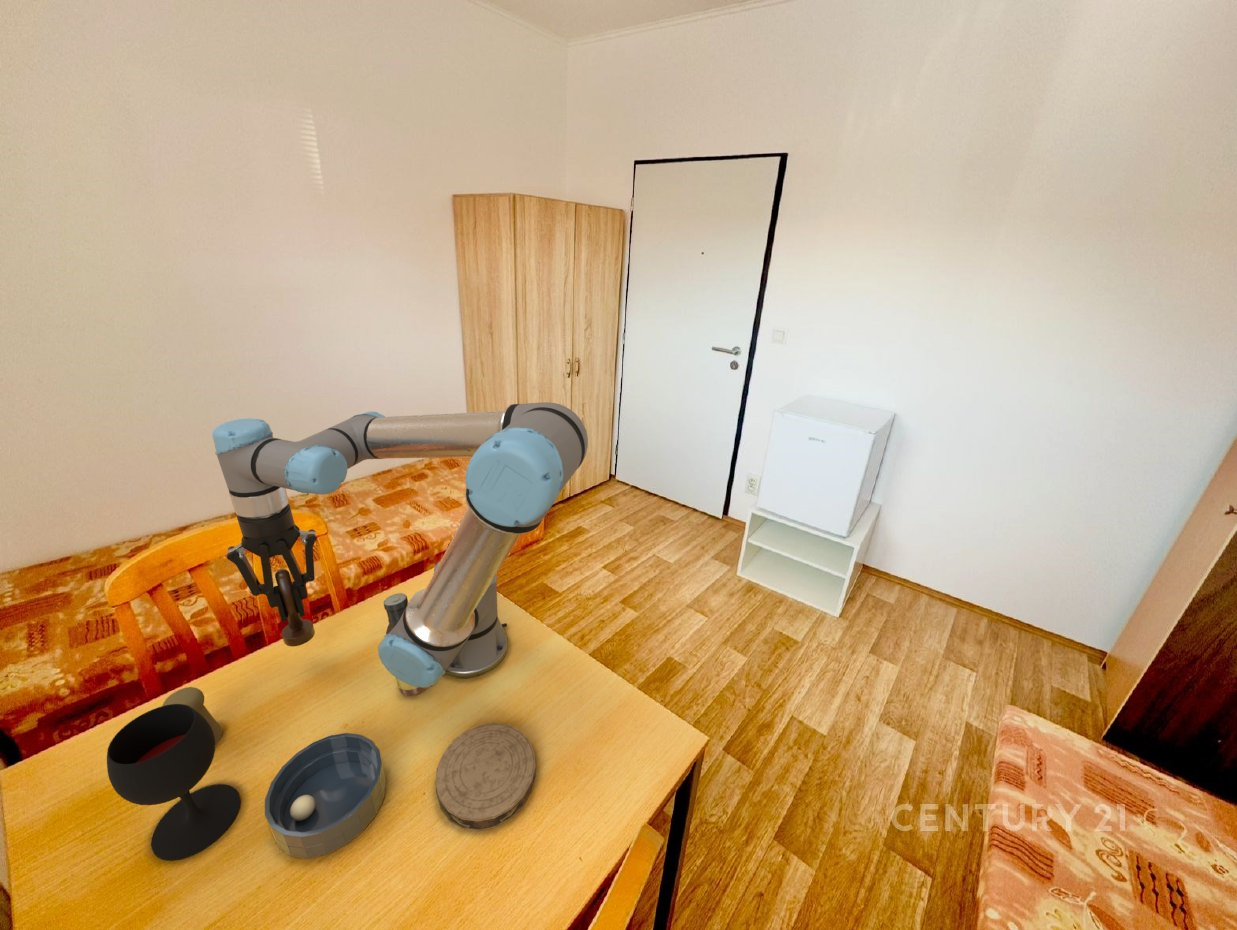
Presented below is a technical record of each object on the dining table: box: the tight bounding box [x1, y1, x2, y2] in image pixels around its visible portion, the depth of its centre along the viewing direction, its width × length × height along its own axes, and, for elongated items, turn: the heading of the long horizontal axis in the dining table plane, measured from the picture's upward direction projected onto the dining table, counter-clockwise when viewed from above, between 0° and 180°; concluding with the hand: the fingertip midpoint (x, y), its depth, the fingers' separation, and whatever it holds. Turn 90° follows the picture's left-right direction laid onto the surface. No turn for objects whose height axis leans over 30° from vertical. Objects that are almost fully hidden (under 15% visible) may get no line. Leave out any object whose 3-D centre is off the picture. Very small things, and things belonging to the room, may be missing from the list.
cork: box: [162, 686, 223, 746], centre depth 81 cm, size 6×6×11 cm
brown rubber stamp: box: [274, 568, 316, 647], centre depth 92 cm, size 5×5×16 cm
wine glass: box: [106, 704, 242, 862], centre depth 68 cm, size 10×10×20 cm
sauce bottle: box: [383, 592, 429, 697], centre depth 93 cm, size 7×6×20 cm
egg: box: [290, 795, 315, 821], centre depth 73 cm, size 3×3×3 cm
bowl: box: [264, 732, 387, 859], centre depth 75 cm, size 15×15×6 cm
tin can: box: [434, 722, 536, 832], centre depth 81 cm, size 16×16×3 cm
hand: (293, 614), depth 93 cm, fingers closed on brown rubber stamp, 2 cm apart
